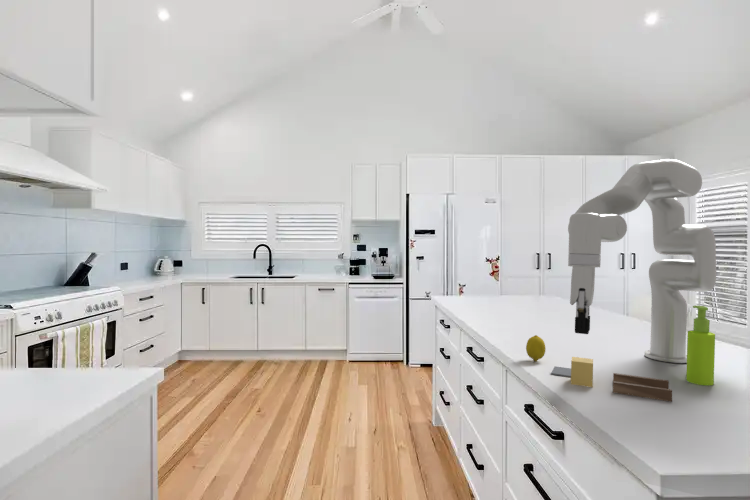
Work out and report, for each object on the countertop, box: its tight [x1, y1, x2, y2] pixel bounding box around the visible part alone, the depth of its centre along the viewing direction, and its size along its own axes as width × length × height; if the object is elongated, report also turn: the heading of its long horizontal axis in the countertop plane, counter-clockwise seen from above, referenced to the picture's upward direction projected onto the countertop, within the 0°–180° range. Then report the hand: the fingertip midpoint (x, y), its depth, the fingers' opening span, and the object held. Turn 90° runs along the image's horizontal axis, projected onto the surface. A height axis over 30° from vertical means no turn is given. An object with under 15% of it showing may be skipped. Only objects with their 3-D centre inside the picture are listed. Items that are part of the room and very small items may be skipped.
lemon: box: [525, 334, 546, 362], centre depth 137 cm, size 6×6×8 cm
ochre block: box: [570, 356, 594, 388], centre depth 116 cm, size 5×5×6 cm
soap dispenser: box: [685, 305, 716, 387], centre depth 119 cm, size 6×7×20 cm
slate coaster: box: [550, 366, 571, 378], centre depth 124 cm, size 8×8×1 cm
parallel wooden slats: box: [612, 372, 673, 403], centre depth 110 cm, size 9×12×2 cm
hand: (582, 331), depth 116 cm, fingers open, 3 cm apart
